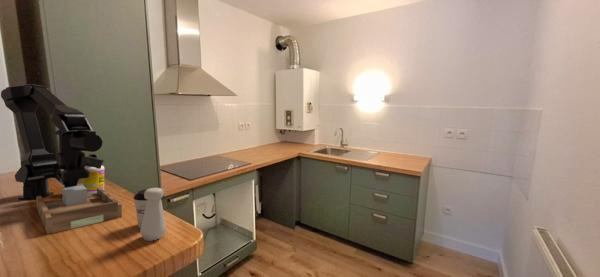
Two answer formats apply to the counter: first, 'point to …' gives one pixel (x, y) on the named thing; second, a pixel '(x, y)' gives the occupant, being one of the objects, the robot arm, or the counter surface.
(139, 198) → the coffee cup
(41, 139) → the robot arm
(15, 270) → the counter surface
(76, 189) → the block
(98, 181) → the supplement bottle
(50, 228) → the wooden tray
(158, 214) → the salt shaker
